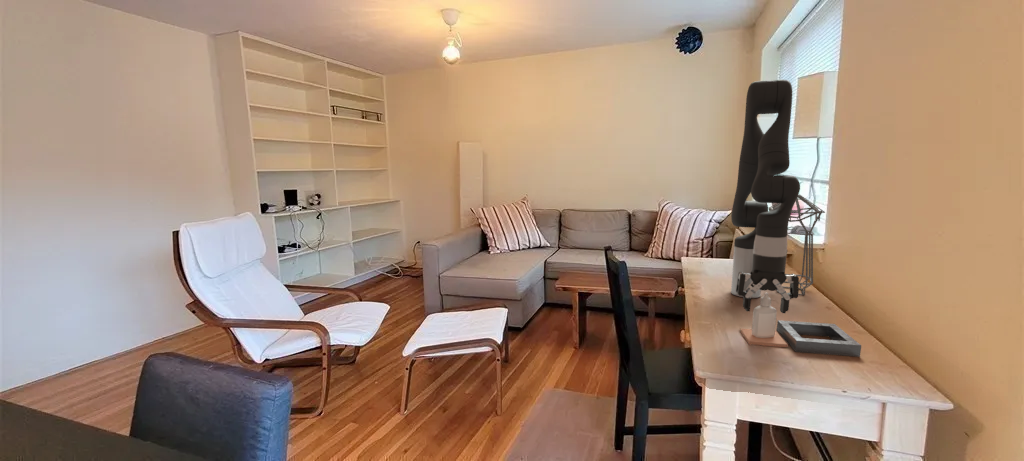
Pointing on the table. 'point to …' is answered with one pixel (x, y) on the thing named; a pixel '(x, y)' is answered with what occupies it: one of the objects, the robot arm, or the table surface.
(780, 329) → the socket plate
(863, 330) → the table surface
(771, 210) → the geometric lantern
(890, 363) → the table surface
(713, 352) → the table surface
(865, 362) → the table surface
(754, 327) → the eye dropper bottle
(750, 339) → the terracotta tile
